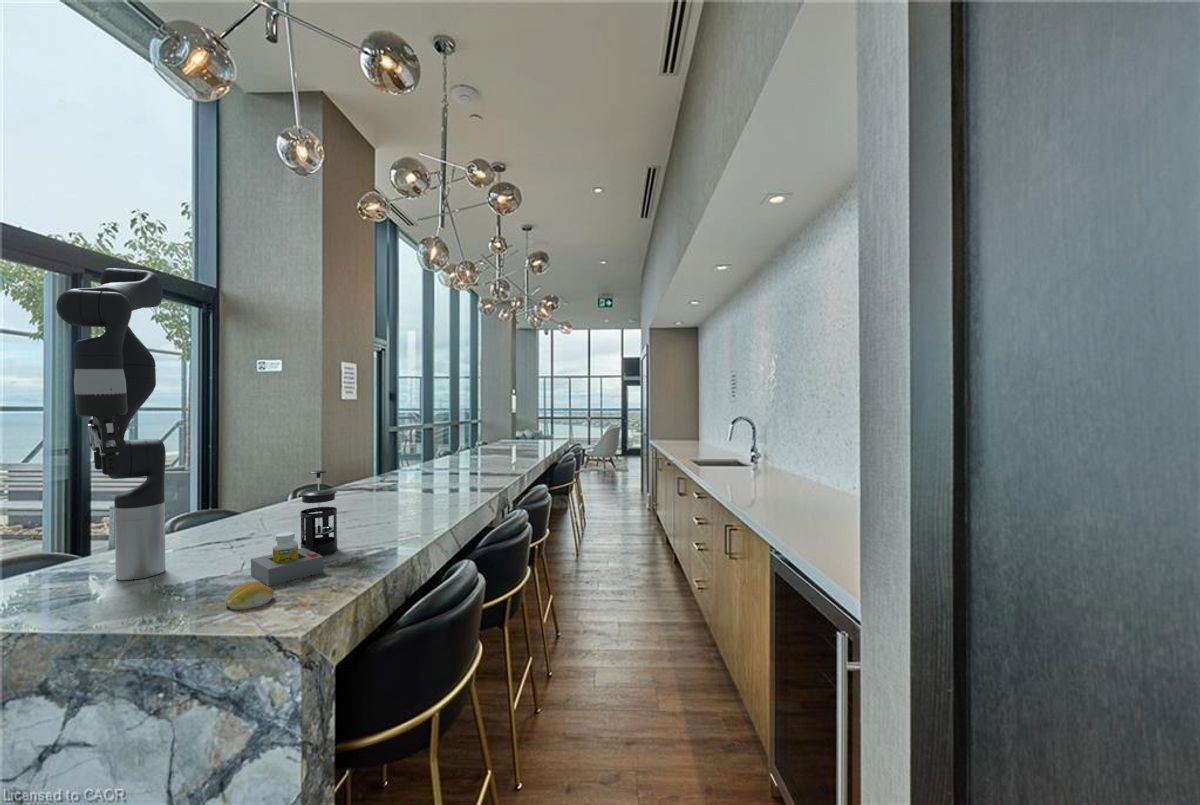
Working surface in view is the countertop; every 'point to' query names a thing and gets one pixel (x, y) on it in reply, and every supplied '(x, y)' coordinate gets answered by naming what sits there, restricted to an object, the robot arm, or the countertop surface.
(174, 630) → the countertop surface
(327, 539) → the french press
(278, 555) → the supplement bottle
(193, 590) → the countertop surface
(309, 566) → the socket block
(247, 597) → the bread roll
